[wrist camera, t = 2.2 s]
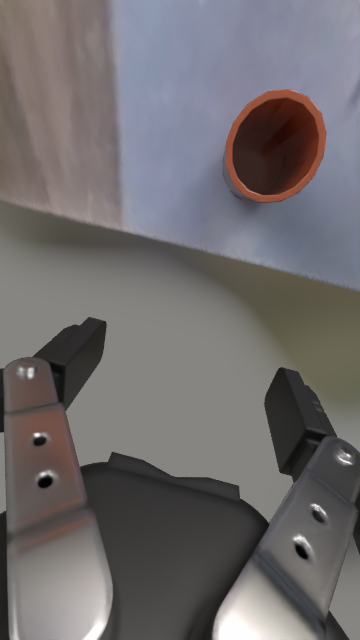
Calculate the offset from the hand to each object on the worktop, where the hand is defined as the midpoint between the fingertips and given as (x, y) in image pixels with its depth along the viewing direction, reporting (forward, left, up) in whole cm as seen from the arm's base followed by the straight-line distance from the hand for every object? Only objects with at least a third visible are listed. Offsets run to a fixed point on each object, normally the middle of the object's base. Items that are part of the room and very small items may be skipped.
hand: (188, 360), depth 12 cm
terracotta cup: (+1, +10, -22) cm, 24 cm away
